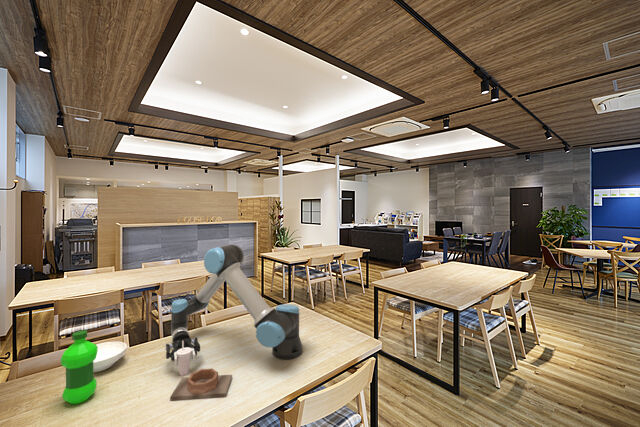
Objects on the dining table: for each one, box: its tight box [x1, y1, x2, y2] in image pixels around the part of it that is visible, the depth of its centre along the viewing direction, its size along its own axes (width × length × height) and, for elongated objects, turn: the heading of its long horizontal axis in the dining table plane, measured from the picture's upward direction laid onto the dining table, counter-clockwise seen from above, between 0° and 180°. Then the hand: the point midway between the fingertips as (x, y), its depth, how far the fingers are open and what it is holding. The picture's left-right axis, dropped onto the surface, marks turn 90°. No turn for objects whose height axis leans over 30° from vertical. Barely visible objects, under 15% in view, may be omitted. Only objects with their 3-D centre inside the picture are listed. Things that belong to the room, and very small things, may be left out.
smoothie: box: [176, 341, 192, 376], centre depth 121 cm, size 6×6×14 cm
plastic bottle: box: [60, 329, 98, 405], centre depth 104 cm, size 10×10×25 cm
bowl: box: [93, 341, 128, 373], centre depth 126 cm, size 20×20×7 cm
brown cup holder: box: [169, 368, 233, 402], centre depth 111 cm, size 20×12×5 cm, turn 97°
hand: (185, 360), depth 117 cm, fingers closed on smoothie, 6 cm apart
